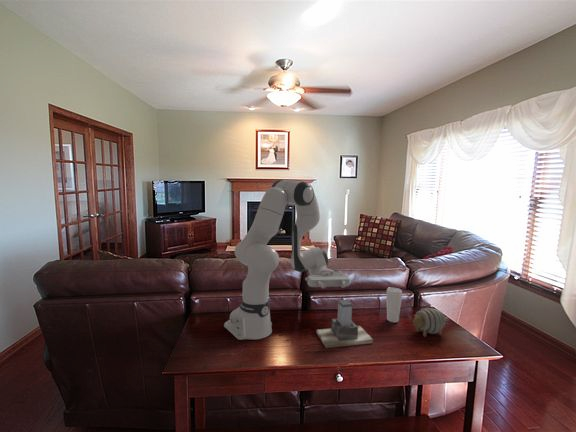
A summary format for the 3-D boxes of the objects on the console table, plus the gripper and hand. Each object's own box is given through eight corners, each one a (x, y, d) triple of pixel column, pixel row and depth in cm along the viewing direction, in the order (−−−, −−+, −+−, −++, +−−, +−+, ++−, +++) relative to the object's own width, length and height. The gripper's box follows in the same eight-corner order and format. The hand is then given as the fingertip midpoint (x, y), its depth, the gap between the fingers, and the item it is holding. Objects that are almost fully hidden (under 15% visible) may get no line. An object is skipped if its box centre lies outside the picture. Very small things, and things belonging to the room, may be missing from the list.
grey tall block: (337, 331, 124) (338, 300, 123) (345, 331, 125) (347, 299, 124) (341, 337, 120) (342, 304, 118) (350, 337, 120) (352, 304, 119)
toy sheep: (405, 330, 130) (406, 305, 129) (436, 325, 135) (438, 302, 134) (422, 342, 120) (424, 316, 119) (455, 336, 125) (457, 311, 124)
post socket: (316, 332, 126) (317, 318, 126) (359, 328, 130) (360, 314, 130) (325, 348, 115) (326, 332, 114) (372, 343, 119) (373, 327, 118)
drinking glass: (401, 319, 140) (403, 289, 139) (398, 325, 135) (400, 293, 133) (387, 316, 144) (388, 286, 142) (383, 321, 138) (385, 290, 137)
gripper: (304, 271, 143) (312, 280, 130) (343, 270, 147) (355, 279, 134) (303, 284, 144) (311, 293, 130) (342, 283, 148) (354, 292, 135)
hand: (334, 286), depth 132 cm, fingers open, 8 cm apart
